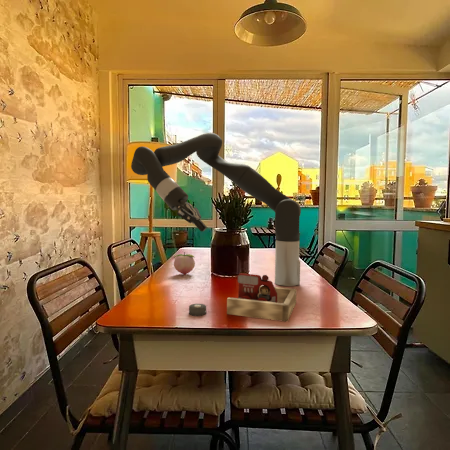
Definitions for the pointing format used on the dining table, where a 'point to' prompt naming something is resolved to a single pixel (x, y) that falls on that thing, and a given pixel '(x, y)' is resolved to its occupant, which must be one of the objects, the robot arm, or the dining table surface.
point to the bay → (265, 306)
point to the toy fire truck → (256, 288)
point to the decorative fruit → (184, 263)
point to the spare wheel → (197, 309)
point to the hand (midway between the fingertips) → (204, 229)
